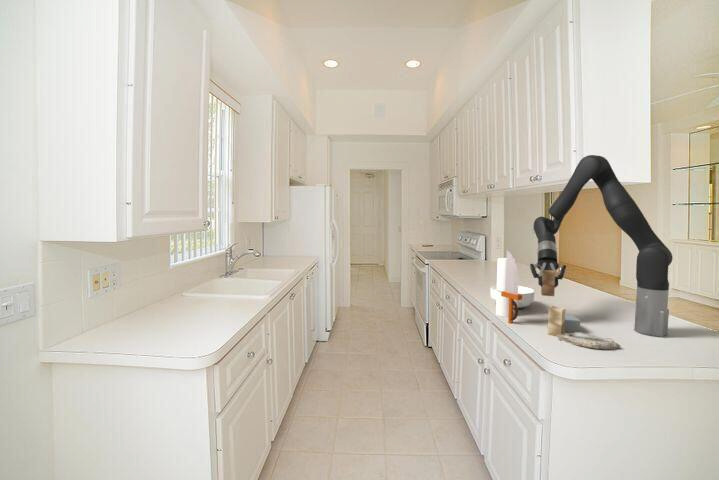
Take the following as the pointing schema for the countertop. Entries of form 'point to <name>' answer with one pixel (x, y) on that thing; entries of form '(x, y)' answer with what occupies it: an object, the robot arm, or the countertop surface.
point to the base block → (571, 324)
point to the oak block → (556, 321)
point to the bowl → (524, 291)
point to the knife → (511, 286)
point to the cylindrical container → (501, 289)
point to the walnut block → (548, 283)
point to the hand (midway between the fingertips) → (548, 285)
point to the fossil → (588, 340)
